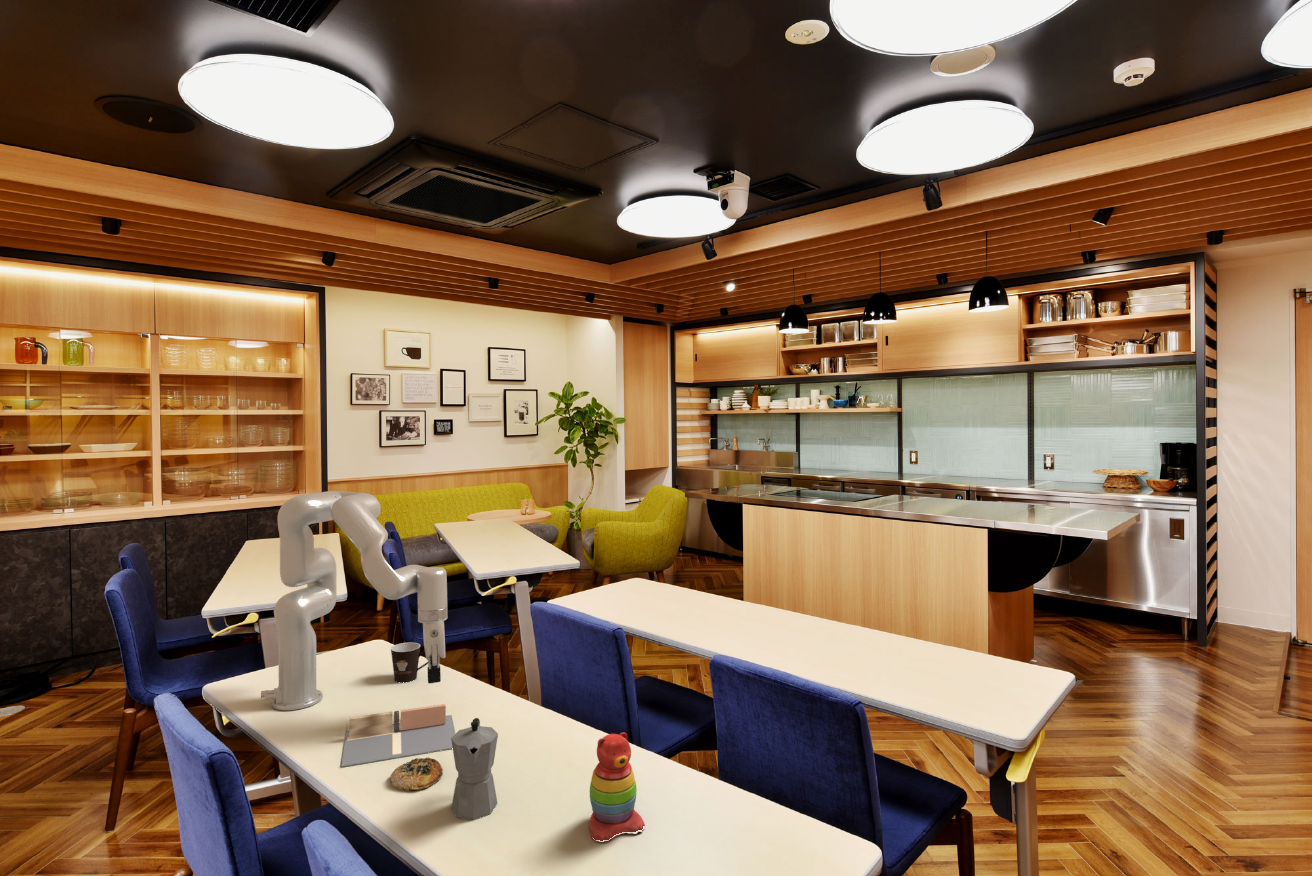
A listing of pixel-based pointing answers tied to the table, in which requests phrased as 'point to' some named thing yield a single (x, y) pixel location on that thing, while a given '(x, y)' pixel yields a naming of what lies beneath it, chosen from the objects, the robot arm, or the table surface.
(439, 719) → the folding fence panel
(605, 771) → the stacking bear
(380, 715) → the fixed fence section
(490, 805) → the coffeepot
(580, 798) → the table surface
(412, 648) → the coffee mug
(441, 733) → the card
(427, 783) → the bread roll
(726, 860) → the table surface
